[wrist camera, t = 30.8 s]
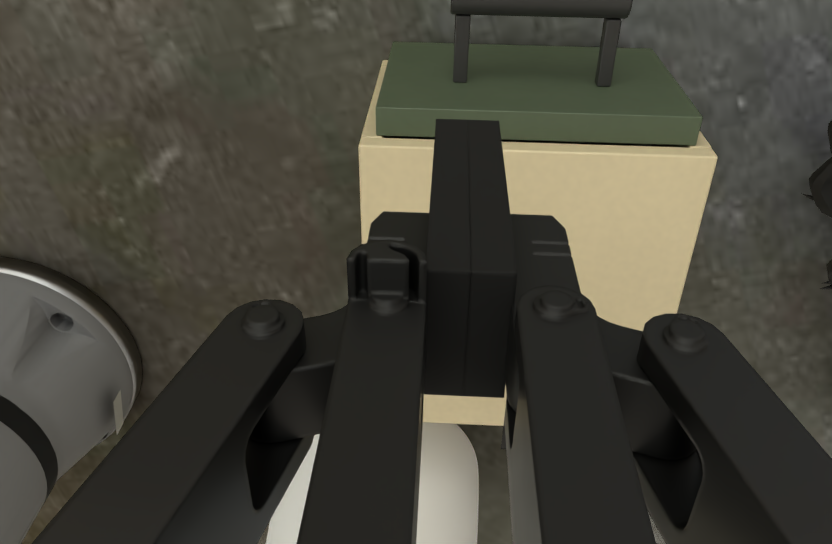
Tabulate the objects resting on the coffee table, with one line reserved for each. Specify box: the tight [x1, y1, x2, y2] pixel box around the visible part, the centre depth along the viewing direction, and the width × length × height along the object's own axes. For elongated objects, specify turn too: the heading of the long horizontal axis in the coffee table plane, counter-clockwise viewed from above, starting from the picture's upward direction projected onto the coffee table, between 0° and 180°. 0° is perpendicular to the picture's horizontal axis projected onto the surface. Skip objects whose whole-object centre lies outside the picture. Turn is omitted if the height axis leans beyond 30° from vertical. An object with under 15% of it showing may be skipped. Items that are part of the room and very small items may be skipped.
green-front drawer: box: [375, 0, 703, 146], centre depth 34 cm, size 18×12×9 cm
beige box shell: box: [358, 60, 718, 426], centre depth 36 cm, size 15×14×11 cm
